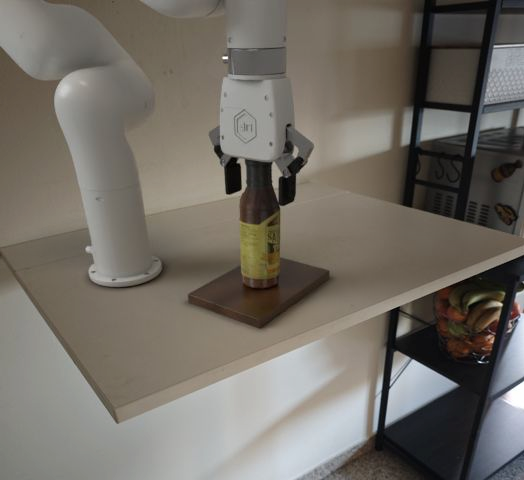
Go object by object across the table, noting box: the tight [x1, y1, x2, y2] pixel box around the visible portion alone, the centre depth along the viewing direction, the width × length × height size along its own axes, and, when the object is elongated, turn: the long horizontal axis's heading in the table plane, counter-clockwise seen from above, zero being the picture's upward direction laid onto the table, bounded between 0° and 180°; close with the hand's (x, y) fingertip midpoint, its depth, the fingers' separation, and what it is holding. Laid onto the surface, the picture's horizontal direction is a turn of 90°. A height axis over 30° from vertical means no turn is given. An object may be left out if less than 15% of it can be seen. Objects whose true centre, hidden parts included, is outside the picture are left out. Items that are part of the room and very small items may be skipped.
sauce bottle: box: [238, 159, 281, 289], centre depth 75 cm, size 7×6×20 cm
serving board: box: [187, 256, 331, 329], centre depth 81 cm, size 14×20×2 cm
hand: (259, 197), depth 73 cm, fingers open, 9 cm apart
